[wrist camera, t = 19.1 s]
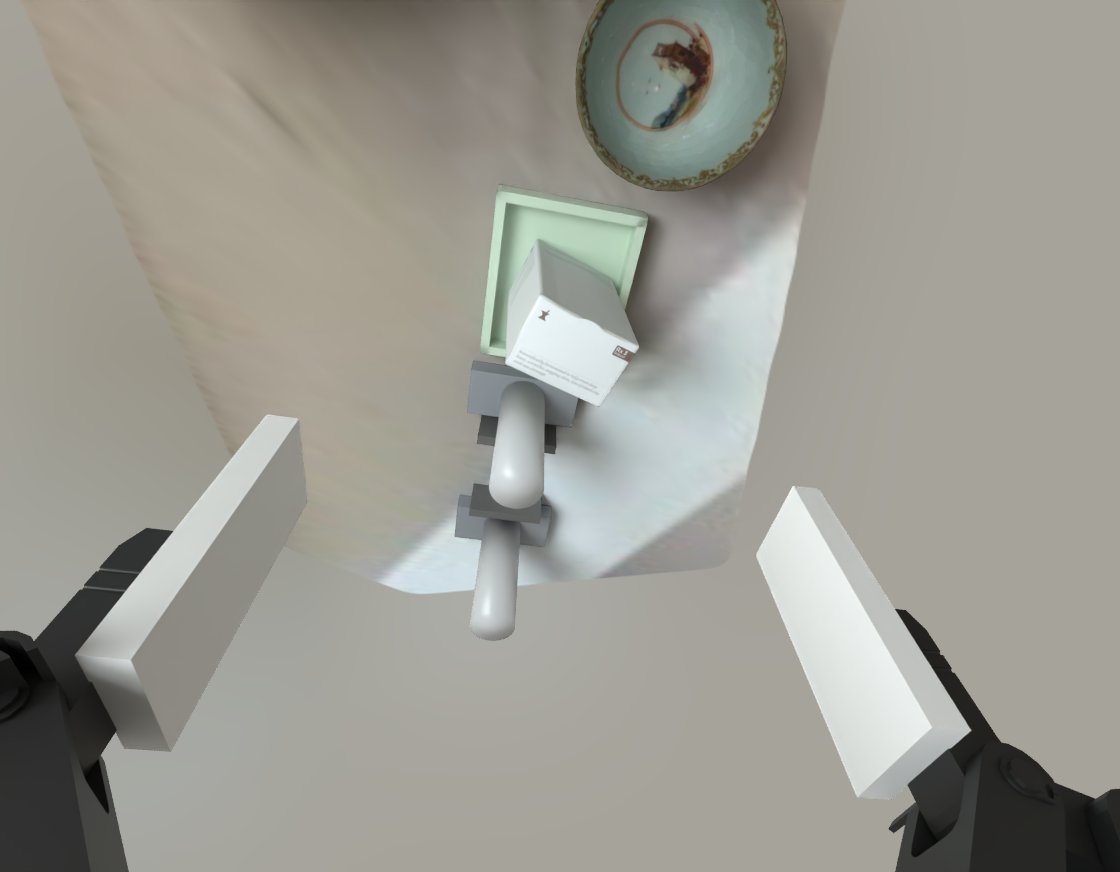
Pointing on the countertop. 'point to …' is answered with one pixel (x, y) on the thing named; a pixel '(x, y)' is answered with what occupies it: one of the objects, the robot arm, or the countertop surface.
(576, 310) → the skincare box
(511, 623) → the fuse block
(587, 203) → the tray
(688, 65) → the bowl
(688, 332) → the countertop surface
